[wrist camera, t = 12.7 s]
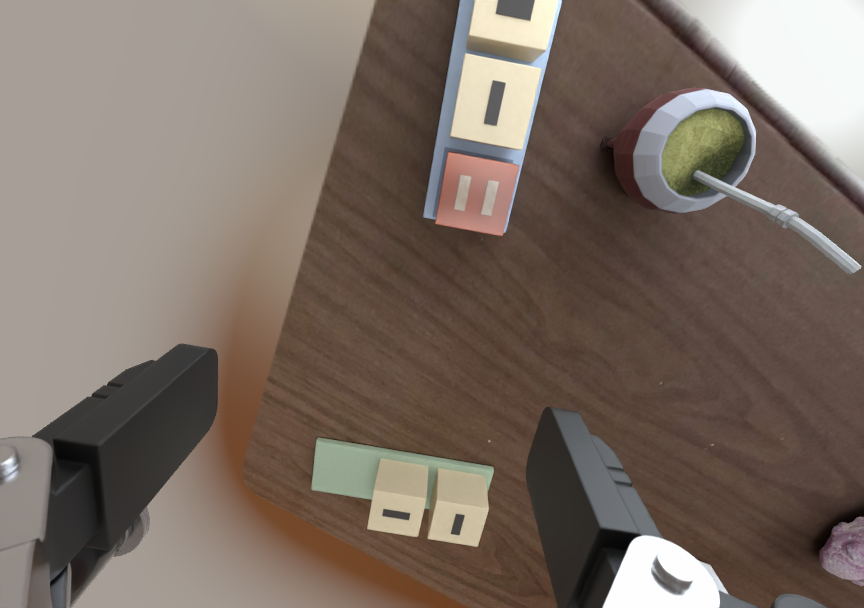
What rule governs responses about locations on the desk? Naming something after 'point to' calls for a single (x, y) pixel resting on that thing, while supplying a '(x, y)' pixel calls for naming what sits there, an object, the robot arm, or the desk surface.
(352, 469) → the far word
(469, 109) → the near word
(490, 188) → the orange cube with stripes
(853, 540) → the fossil
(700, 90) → the mate gourd
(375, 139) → the desk surface
